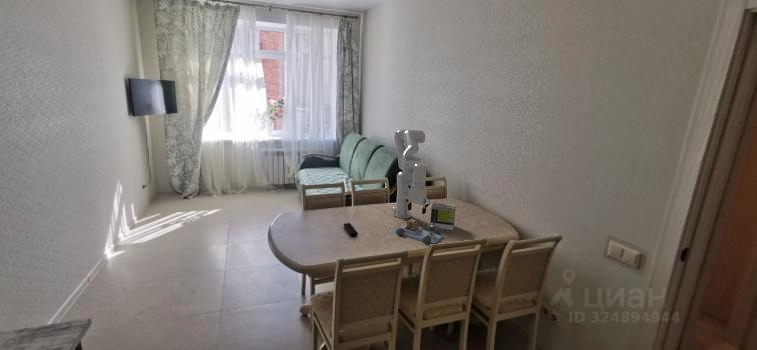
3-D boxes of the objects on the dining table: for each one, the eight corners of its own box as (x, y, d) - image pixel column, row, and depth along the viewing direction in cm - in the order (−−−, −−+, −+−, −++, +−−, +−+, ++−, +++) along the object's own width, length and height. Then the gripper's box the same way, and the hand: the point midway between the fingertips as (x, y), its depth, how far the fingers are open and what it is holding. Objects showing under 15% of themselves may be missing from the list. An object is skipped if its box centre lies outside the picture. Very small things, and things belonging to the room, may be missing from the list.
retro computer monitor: (454, 225, 235) (456, 204, 231) (453, 231, 226) (455, 209, 222) (431, 222, 239) (433, 201, 235) (429, 227, 229) (431, 205, 226)
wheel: (425, 233, 210) (425, 226, 209) (429, 230, 215) (429, 223, 213) (433, 235, 208) (433, 228, 206) (436, 233, 212) (437, 225, 211)
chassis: (393, 233, 217) (394, 226, 216) (406, 226, 230) (407, 219, 229) (432, 245, 203) (433, 238, 202) (443, 237, 216) (444, 230, 215)
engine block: (406, 231, 218) (406, 220, 216) (410, 228, 222) (411, 218, 220) (413, 233, 215) (414, 222, 214) (417, 230, 219) (418, 220, 218)
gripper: (402, 182, 212) (401, 210, 216) (428, 188, 202) (426, 216, 206) (409, 180, 218) (407, 207, 222) (434, 186, 208) (432, 213, 212)
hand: (416, 211), depth 214 cm, fingers open, 9 cm apart
